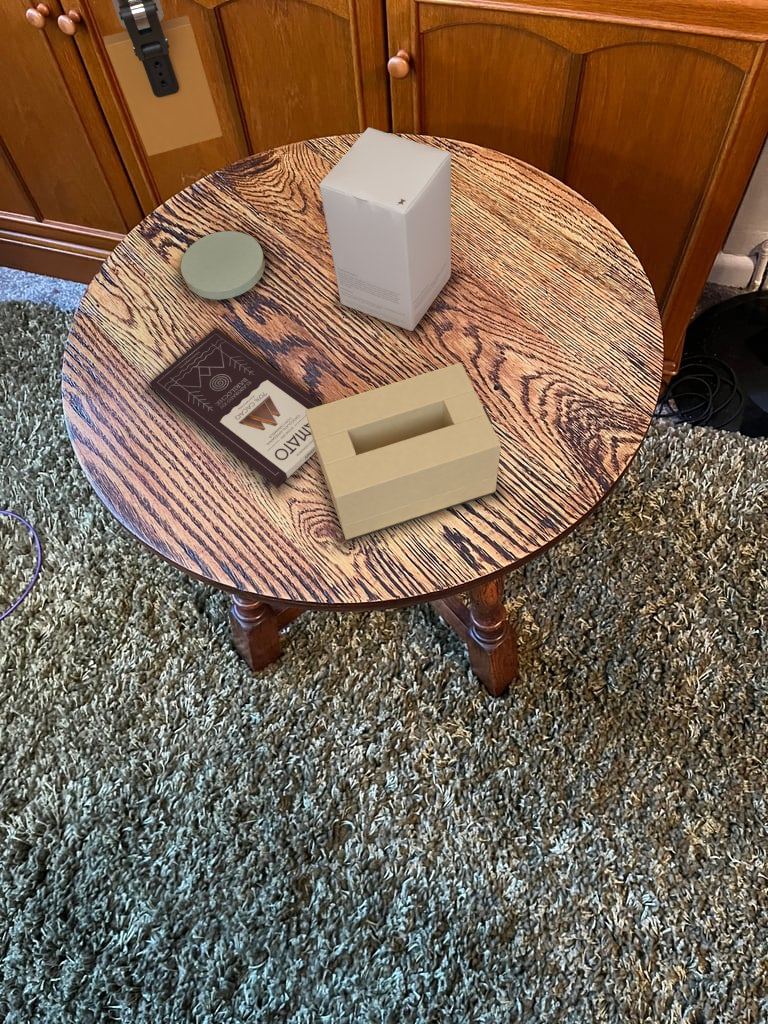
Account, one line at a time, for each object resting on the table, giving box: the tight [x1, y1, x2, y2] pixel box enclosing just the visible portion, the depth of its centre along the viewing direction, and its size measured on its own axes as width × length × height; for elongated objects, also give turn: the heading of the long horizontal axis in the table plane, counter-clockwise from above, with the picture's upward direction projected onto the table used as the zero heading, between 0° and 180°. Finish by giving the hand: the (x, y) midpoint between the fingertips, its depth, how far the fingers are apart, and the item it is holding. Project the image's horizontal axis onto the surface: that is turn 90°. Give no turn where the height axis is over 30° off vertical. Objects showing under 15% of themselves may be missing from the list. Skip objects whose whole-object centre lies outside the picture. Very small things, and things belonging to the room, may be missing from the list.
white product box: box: [318, 127, 452, 332], centre depth 74 cm, size 9×9×15 cm
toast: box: [102, 14, 224, 157], centre depth 66 cm, size 7×1×10 cm, turn 108°
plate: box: [180, 230, 266, 300], centre depth 84 cm, size 9×9×1 cm
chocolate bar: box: [149, 327, 324, 489], centre depth 75 cm, size 9×1×18 cm
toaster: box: [305, 362, 502, 543], centre depth 67 cm, size 15×9×8 cm, turn 108°
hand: (165, 85), depth 65 cm, fingers closed on toast, 1 cm apart
